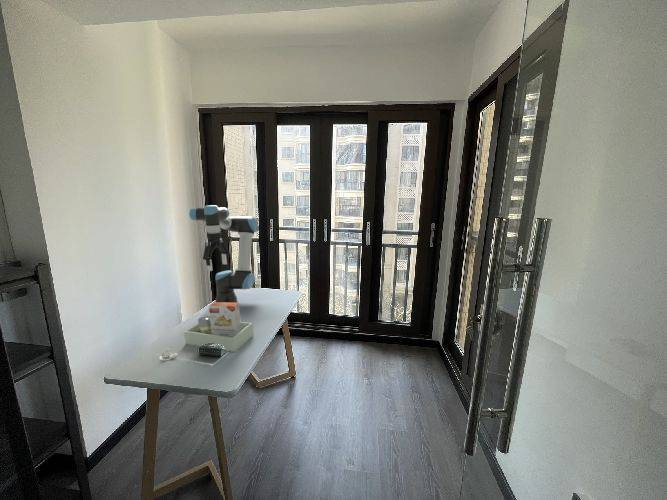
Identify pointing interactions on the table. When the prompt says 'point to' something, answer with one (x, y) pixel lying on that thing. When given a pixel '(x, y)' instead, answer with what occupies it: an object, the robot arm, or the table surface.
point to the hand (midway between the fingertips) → (217, 267)
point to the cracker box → (225, 319)
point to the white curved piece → (168, 354)
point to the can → (205, 325)
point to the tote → (219, 337)
